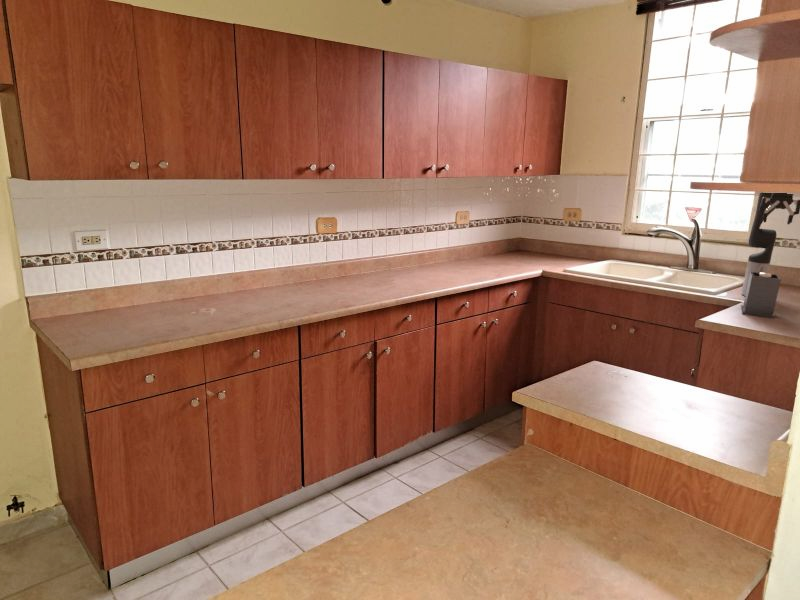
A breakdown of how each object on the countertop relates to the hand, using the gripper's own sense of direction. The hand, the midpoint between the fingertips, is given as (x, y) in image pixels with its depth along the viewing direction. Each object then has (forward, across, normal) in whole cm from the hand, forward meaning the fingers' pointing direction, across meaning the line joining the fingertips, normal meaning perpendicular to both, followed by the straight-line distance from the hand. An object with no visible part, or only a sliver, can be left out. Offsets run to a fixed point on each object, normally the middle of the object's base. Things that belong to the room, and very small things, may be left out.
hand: (776, 223), depth 246 cm
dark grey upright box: (+40, 0, 0) cm, 40 cm away
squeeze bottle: (+40, 0, -20) cm, 45 cm away
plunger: (+38, 0, 0) cm, 38 cm away
